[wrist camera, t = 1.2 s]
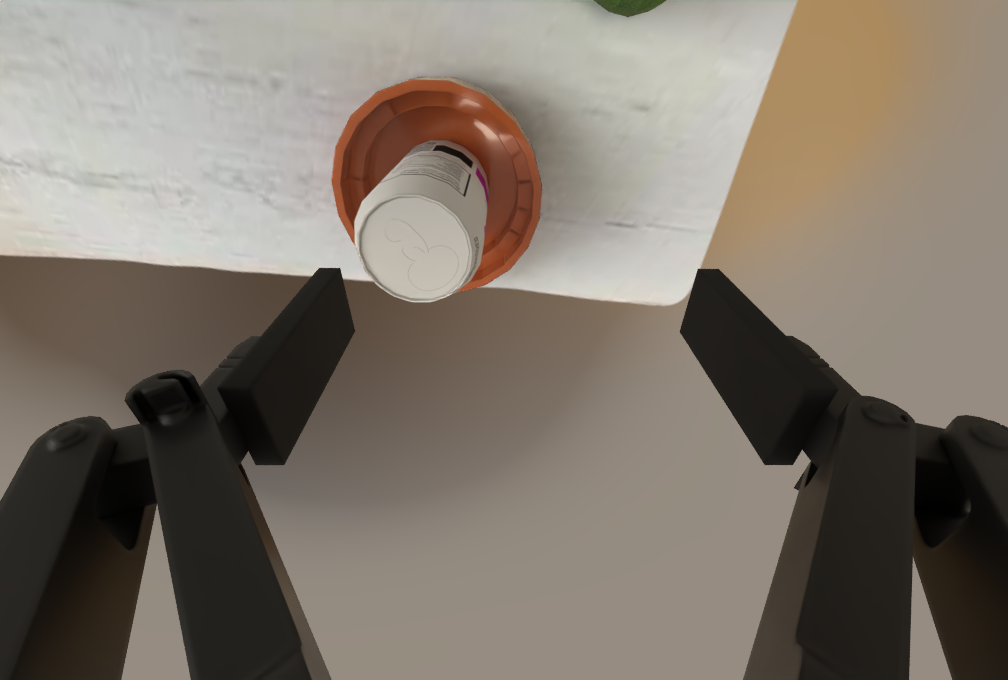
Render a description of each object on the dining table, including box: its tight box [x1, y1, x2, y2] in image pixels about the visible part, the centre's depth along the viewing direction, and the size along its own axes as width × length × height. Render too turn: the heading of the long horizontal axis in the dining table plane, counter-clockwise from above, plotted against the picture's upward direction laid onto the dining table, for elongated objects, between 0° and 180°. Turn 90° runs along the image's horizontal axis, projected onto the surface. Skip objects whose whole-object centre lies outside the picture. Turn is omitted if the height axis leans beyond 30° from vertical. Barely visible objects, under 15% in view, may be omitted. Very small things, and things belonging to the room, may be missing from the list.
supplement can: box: [354, 140, 489, 302], centre depth 32 cm, size 8×8×15 cm
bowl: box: [332, 77, 542, 292], centre depth 36 cm, size 17×17×4 cm
